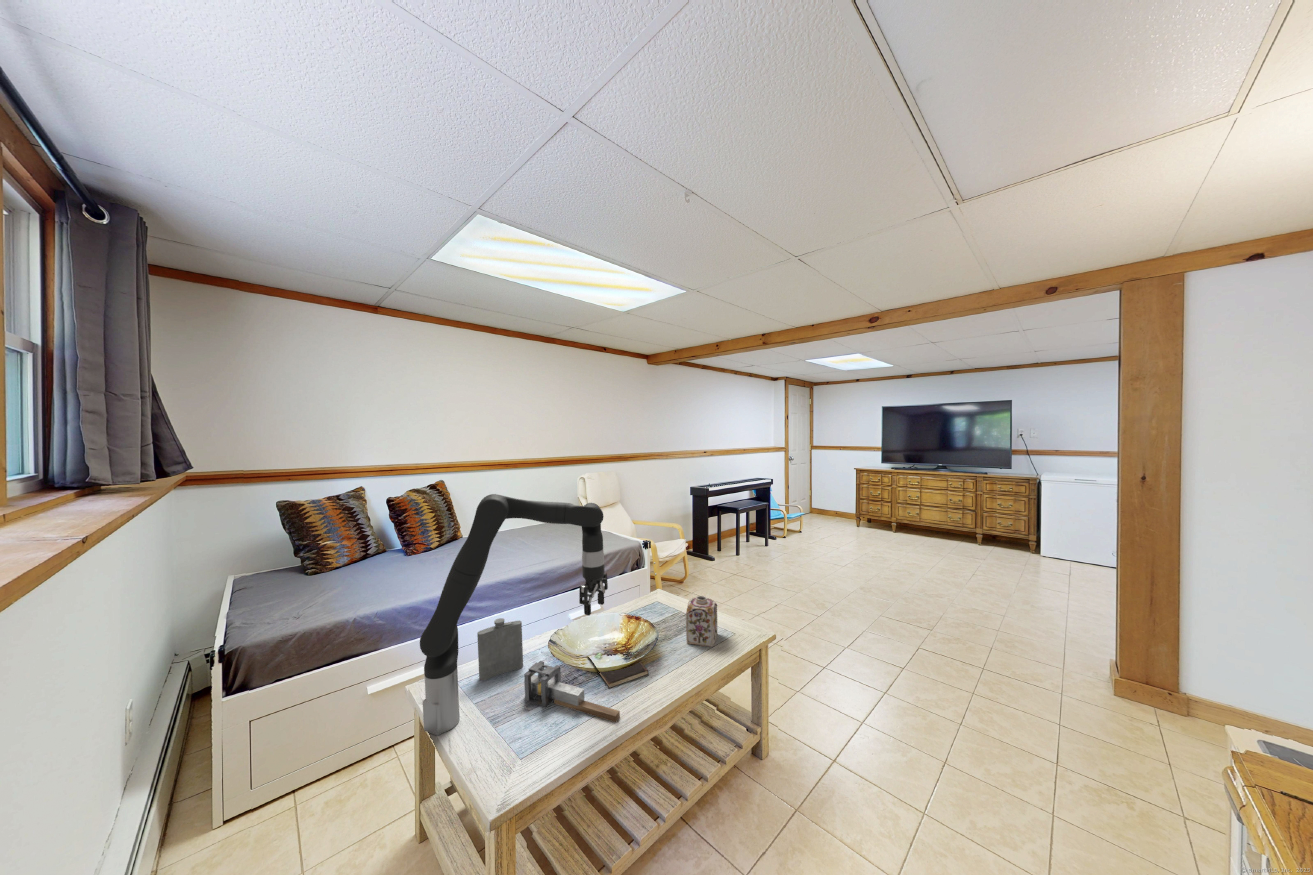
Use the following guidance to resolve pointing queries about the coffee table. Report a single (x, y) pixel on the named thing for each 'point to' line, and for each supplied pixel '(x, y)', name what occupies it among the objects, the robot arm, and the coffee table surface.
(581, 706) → the walnut rail
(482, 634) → the hip flask
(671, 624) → the coffee table surface
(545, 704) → the frame
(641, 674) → the hardcover book
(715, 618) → the decorative jar
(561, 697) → the square steel tube
